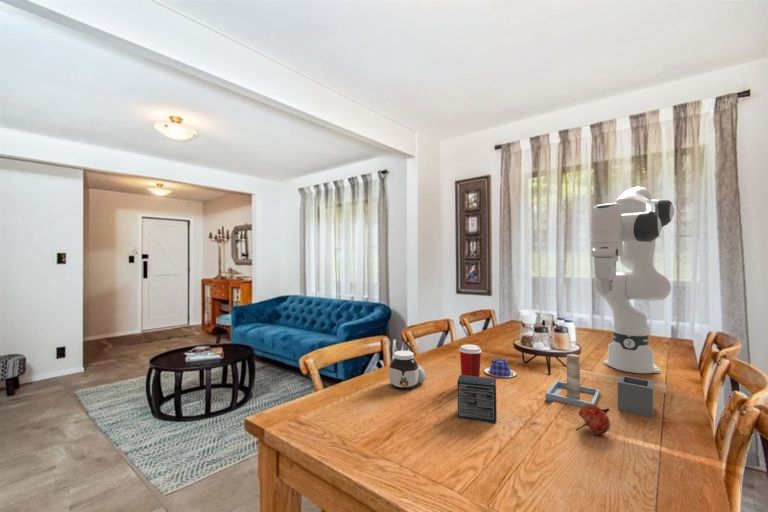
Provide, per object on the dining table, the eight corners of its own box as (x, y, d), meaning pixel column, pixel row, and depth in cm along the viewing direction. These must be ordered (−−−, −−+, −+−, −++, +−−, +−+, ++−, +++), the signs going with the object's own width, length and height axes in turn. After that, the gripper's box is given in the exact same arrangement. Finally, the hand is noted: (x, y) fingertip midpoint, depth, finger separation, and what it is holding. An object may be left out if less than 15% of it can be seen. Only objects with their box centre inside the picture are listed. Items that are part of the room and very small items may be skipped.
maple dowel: (568, 393, 111) (568, 353, 111) (580, 396, 109) (580, 355, 109) (565, 396, 108) (565, 356, 108) (578, 399, 106) (578, 358, 106)
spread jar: (386, 388, 118) (386, 354, 118) (397, 377, 128) (397, 346, 128) (420, 393, 113) (419, 358, 113) (428, 381, 124) (428, 349, 124)
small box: (496, 413, 99) (496, 377, 99) (496, 424, 92) (496, 385, 92) (459, 408, 102) (459, 373, 102) (457, 418, 96) (457, 380, 96)
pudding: (516, 370, 137) (516, 357, 137) (517, 380, 126) (516, 366, 126) (485, 367, 141) (485, 354, 141) (483, 377, 130) (483, 363, 130)
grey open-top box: (620, 404, 105) (620, 374, 105) (653, 411, 100) (653, 380, 100) (617, 413, 99) (617, 382, 99) (653, 421, 94) (652, 388, 94)
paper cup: (479, 383, 122) (479, 344, 122) (483, 391, 115) (483, 350, 115) (457, 382, 123) (457, 343, 123) (460, 390, 115) (460, 349, 116)
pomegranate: (587, 448, 85) (624, 428, 82) (566, 420, 87) (602, 400, 84) (583, 437, 91) (617, 419, 89) (564, 411, 94) (597, 393, 91)
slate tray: (556, 387, 118) (556, 380, 118) (600, 397, 110) (600, 389, 110) (545, 400, 107) (545, 393, 107) (593, 412, 99) (593, 404, 99)
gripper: (600, 251, 124) (600, 289, 124) (591, 251, 109) (591, 294, 109) (621, 251, 120) (621, 290, 120) (614, 251, 105) (615, 296, 105)
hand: (607, 292), depth 114 cm, fingers open, 8 cm apart
